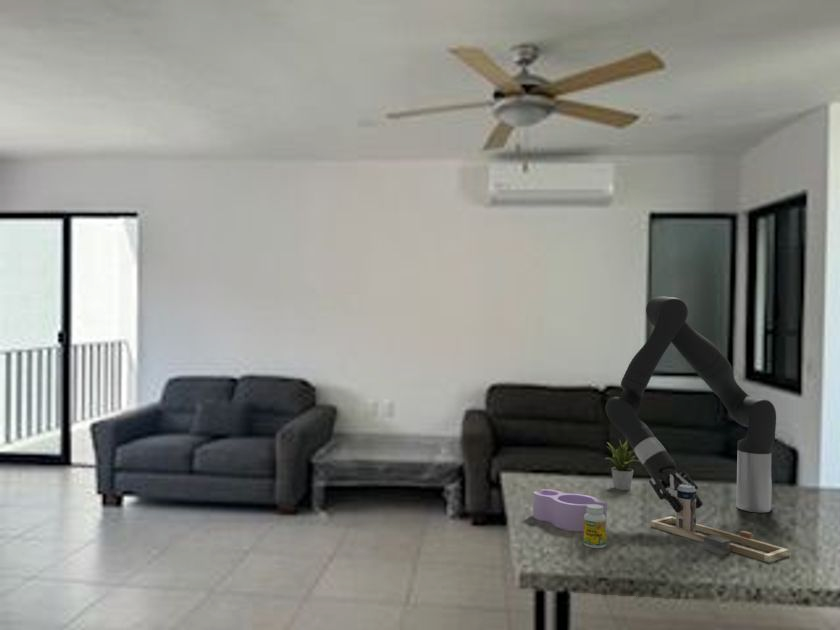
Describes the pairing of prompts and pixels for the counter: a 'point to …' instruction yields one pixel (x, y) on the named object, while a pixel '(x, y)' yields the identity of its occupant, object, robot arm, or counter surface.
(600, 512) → the supplement bottle
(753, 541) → the beam track
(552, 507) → the clip
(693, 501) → the beer can
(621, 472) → the house plant
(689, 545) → the counter surface
